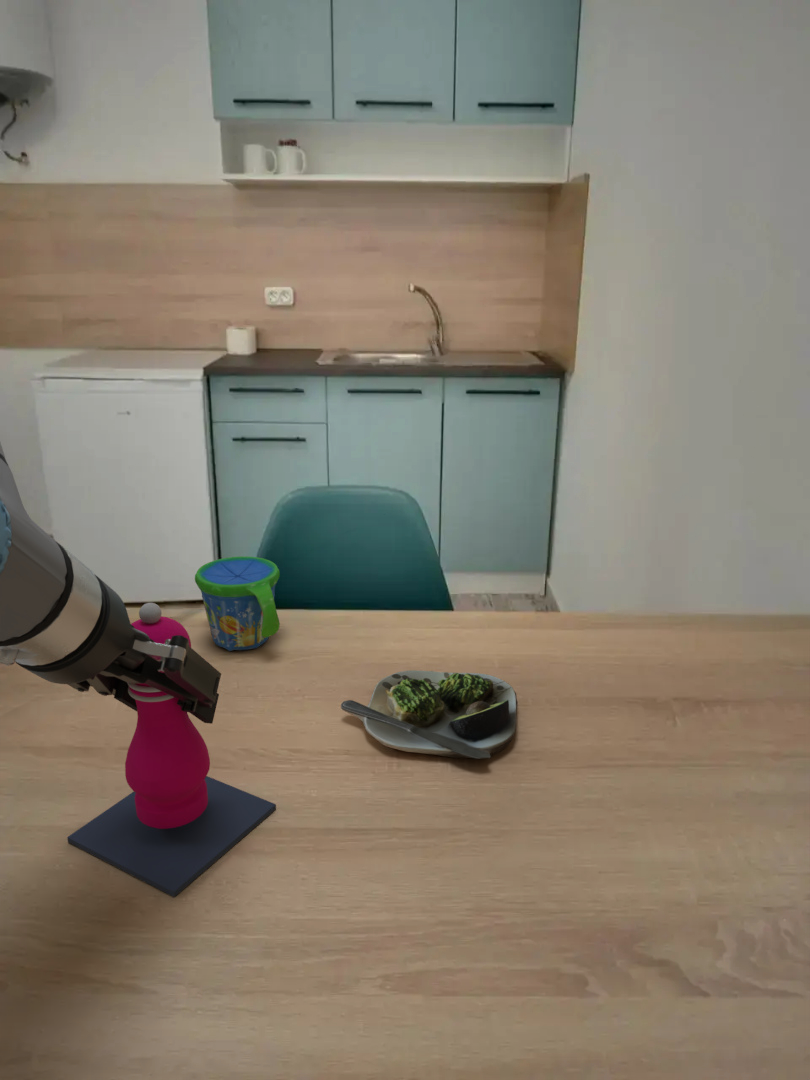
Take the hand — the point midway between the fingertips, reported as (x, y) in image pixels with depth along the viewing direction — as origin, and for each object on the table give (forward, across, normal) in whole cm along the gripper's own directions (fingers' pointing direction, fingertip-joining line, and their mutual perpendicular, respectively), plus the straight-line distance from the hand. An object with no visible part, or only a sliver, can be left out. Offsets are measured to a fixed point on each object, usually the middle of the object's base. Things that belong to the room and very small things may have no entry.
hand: (182, 705), depth 75 cm
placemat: (+5, 0, -10) cm, 11 cm away
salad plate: (+20, +22, +5) cm, 30 cm away
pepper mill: (+3, 0, -9) cm, 9 cm away
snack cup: (+31, -8, +16) cm, 36 cm away
